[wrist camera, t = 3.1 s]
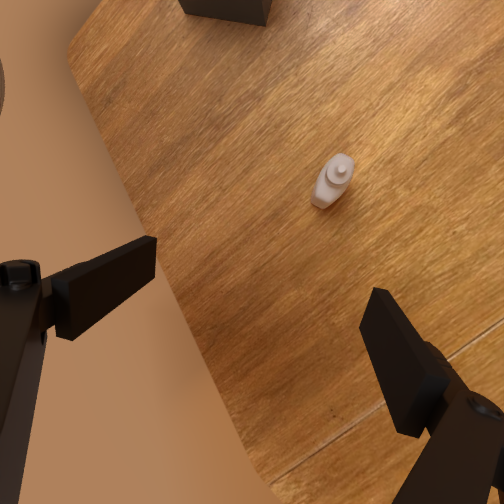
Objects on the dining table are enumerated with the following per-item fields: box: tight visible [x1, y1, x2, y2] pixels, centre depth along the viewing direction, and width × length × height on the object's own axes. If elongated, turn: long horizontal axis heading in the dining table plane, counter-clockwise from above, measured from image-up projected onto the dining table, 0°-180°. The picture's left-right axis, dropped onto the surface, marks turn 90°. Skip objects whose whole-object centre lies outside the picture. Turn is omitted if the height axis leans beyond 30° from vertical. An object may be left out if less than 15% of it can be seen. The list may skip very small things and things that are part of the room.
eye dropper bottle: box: [311, 153, 355, 209], centre depth 31 cm, size 4×6×12 cm
